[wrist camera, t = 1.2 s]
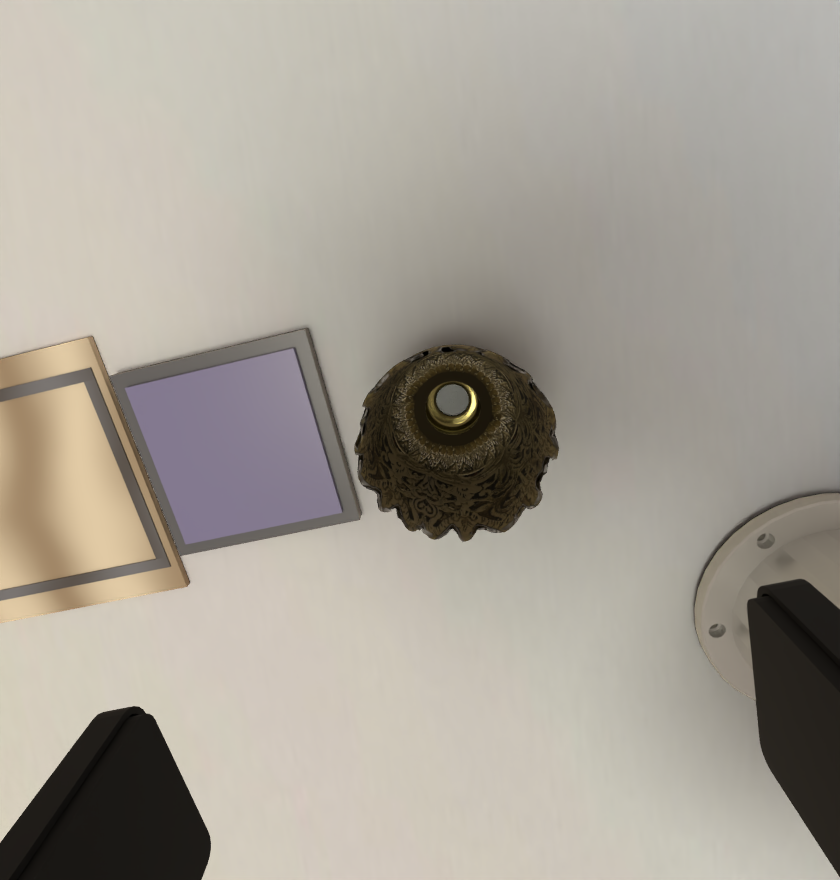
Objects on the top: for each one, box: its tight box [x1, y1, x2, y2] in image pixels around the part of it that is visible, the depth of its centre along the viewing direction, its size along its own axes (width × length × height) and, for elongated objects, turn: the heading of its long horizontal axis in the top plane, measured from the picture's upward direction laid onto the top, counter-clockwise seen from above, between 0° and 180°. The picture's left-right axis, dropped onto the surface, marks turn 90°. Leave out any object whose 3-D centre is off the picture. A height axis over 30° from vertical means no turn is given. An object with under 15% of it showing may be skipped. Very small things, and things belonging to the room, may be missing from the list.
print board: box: [0, 337, 190, 623], centre depth 31 cm, size 12×14×1 cm
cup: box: [355, 345, 559, 542], centre depth 25 cm, size 8×7×8 cm
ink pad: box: [110, 328, 362, 556], centre depth 29 cm, size 10×10×1 cm
